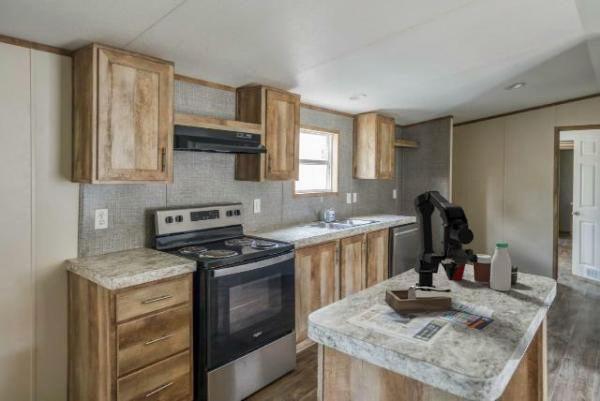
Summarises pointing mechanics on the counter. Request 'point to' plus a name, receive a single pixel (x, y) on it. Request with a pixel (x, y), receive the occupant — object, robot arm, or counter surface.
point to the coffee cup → (482, 269)
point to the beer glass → (428, 292)
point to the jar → (514, 274)
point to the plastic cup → (459, 272)
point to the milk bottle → (501, 268)
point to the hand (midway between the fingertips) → (450, 280)
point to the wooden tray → (416, 303)
